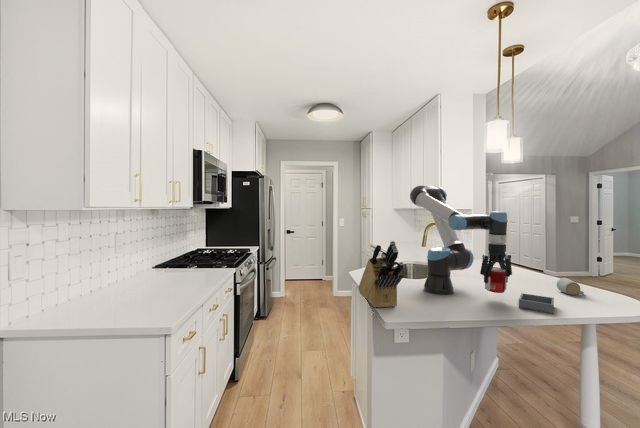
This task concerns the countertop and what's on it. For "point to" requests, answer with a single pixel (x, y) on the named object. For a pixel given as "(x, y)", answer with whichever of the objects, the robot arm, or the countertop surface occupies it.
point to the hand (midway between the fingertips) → (495, 289)
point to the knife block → (381, 278)
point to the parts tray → (536, 303)
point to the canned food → (497, 280)
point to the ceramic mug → (568, 286)
